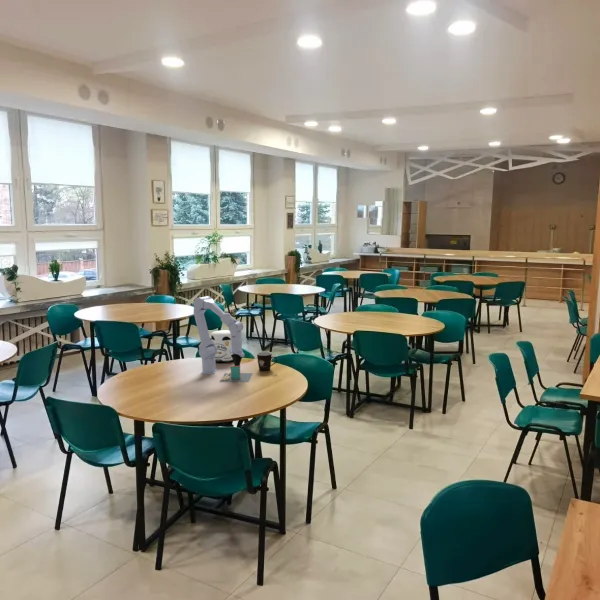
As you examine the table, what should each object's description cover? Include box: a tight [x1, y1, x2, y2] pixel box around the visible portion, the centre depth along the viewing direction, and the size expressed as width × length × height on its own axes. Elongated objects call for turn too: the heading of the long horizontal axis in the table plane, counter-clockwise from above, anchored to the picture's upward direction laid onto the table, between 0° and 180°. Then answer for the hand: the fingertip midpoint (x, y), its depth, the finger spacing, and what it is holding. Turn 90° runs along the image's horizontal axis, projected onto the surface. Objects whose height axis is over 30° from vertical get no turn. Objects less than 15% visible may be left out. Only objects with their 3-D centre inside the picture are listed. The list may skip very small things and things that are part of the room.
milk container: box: [210, 329, 234, 363], centre depth 342 cm, size 17×17×18 cm
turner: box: [220, 371, 231, 381], centre depth 305 cm, size 14×4×1 cm, turn 177°
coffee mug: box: [256, 351, 278, 372], centre depth 317 cm, size 12×9×10 cm
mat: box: [219, 372, 253, 383], centre depth 303 cm, size 18×16×1 cm
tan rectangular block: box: [230, 365, 242, 379], centre depth 301 cm, size 2×5×7 cm, turn 87°
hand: (237, 367), depth 307 cm, fingers closed
